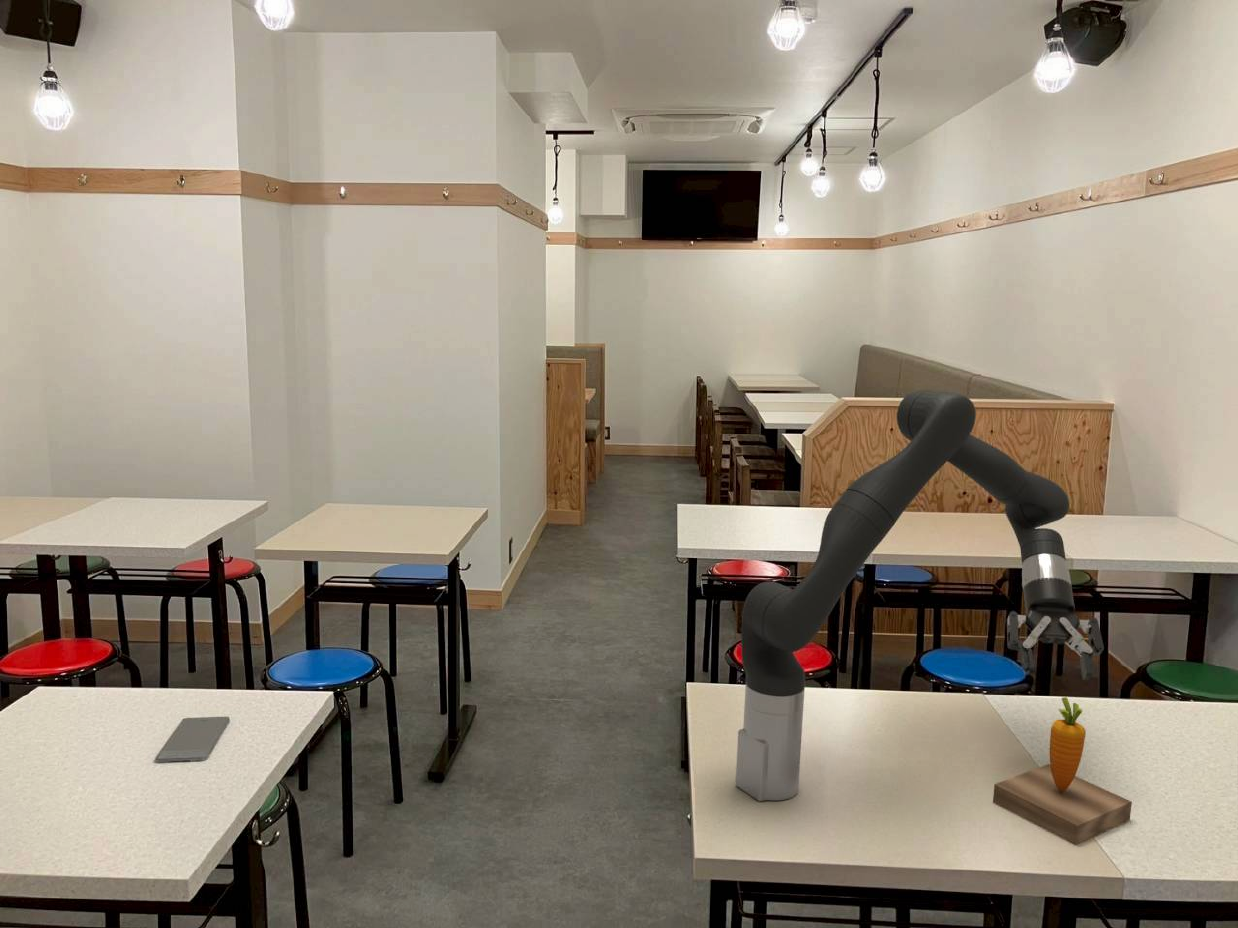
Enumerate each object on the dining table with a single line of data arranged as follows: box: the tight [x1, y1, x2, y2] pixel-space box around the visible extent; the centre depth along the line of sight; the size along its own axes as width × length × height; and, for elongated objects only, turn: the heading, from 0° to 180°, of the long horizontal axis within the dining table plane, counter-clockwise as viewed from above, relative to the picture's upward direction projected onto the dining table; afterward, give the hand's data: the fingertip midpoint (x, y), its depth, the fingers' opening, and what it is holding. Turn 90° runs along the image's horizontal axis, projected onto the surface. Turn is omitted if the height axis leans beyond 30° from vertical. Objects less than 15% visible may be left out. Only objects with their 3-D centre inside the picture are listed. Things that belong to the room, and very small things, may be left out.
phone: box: [155, 716, 231, 764], centre depth 163 cm, size 8×16×1 cm, turn 9°
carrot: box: [1048, 696, 1086, 792], centre depth 146 cm, size 5×5×15 cm
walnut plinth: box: [992, 763, 1133, 846], centre depth 147 cm, size 14×14×3 cm
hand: (1058, 675), depth 152 cm, fingers open, 8 cm apart
